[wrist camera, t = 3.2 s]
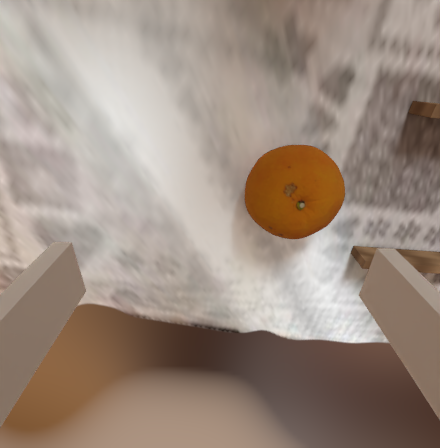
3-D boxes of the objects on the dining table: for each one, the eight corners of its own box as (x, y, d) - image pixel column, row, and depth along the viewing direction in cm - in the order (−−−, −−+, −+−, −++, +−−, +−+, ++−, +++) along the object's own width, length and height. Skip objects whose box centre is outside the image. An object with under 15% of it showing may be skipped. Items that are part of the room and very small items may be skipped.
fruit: (304, 117, 29) (331, 131, 22) (340, 191, 33) (373, 221, 26) (226, 169, 32) (227, 196, 25) (268, 231, 36) (280, 268, 29)
